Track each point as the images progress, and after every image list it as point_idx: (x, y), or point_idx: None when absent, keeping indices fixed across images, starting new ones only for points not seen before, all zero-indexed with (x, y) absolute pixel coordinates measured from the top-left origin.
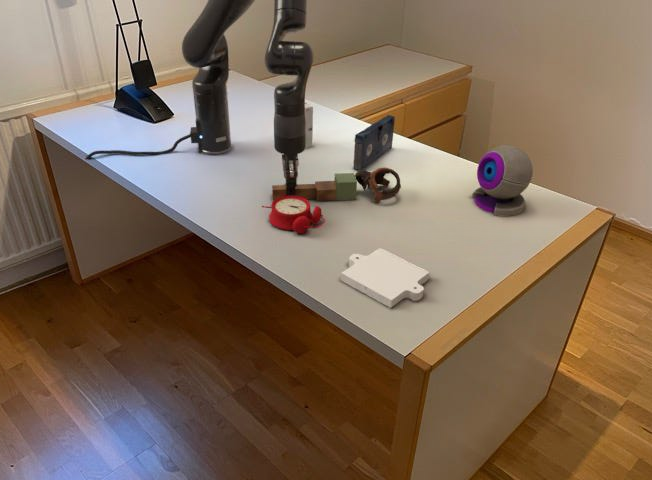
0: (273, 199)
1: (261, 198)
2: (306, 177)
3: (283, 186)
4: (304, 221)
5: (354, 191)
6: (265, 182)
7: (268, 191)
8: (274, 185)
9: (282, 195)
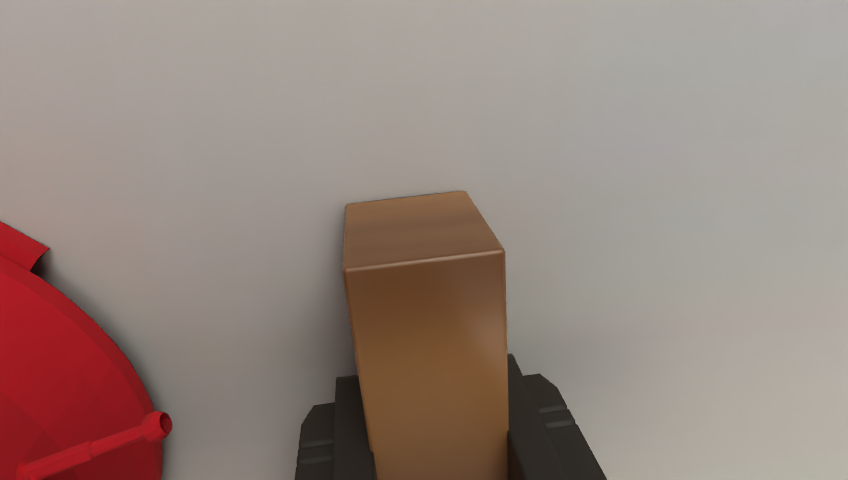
0: (346, 215)
1: (400, 41)
2: (817, 472)
3: (457, 412)
4: None
5: None
6: (839, 74)
7: (592, 129)
8: (499, 287)
9: (145, 433)
